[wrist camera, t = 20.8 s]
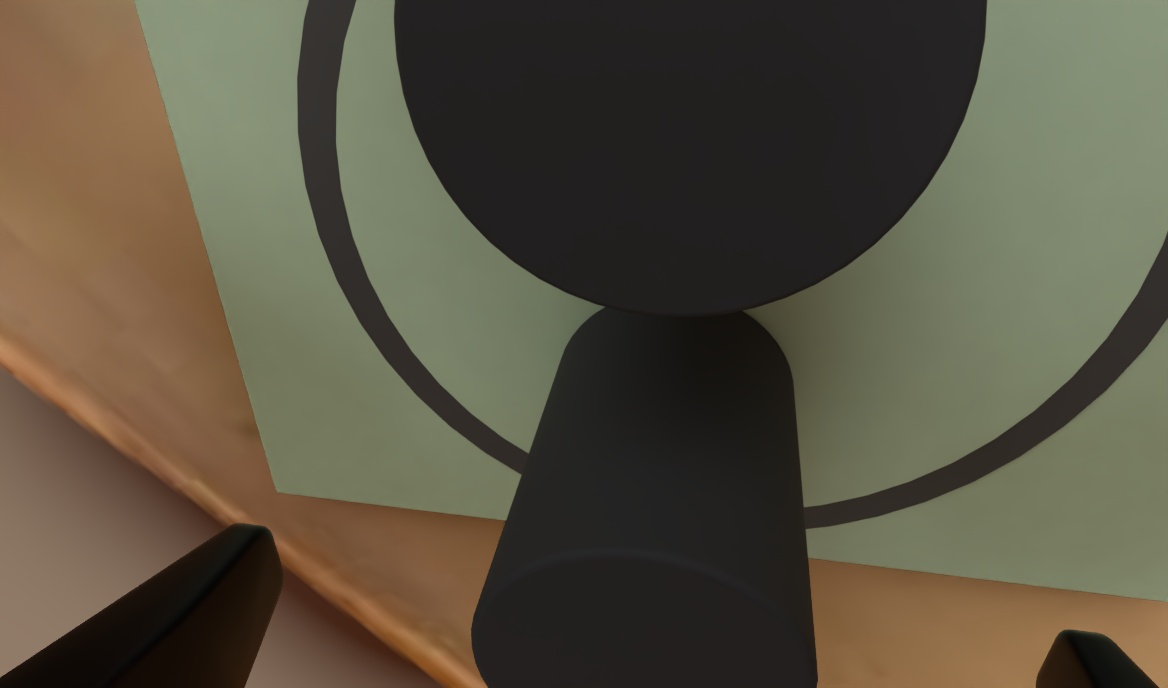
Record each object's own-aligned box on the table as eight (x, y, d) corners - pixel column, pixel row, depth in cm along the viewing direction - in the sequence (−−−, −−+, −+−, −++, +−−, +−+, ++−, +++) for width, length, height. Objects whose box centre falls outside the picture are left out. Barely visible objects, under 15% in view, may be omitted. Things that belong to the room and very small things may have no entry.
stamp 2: (810, 298, 11) (848, 580, 7) (777, 489, 13) (792, 797, 9) (556, 278, 12) (453, 531, 8) (561, 465, 14) (481, 746, 10)
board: (1743, -473, 7) (1878, -512, 6) (1154, 567, 14) (1180, 615, 13) (63, -398, 9) (-4, -419, 8) (294, 466, 16) (270, 501, 15)
